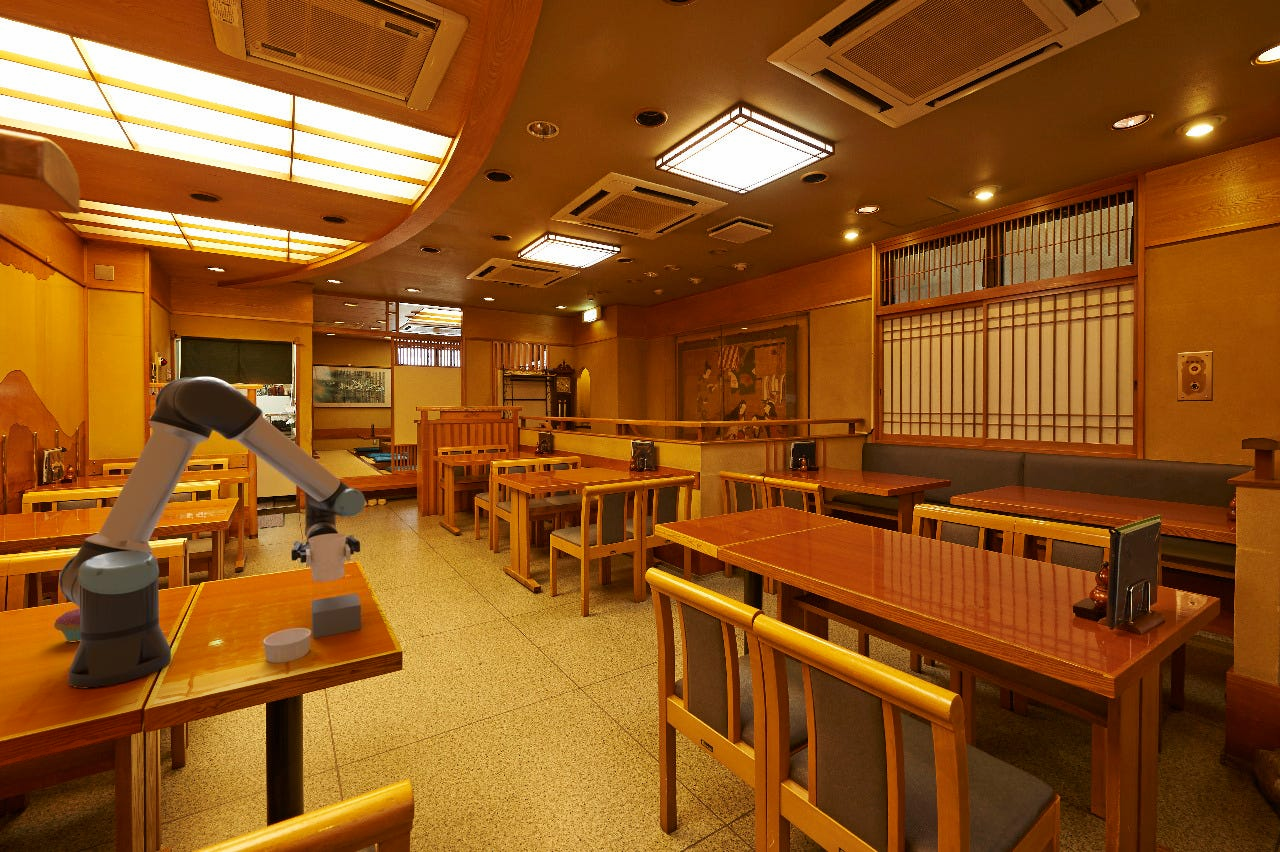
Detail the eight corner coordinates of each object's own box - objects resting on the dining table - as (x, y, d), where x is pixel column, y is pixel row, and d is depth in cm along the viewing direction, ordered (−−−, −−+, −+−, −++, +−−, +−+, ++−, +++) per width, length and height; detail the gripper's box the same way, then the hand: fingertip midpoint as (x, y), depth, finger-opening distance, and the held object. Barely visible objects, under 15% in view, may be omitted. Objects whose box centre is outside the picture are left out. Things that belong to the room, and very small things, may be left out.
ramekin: (311, 659, 117) (310, 639, 116) (261, 668, 112) (260, 648, 112) (312, 643, 124) (312, 624, 124) (265, 652, 120) (265, 632, 120)
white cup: (353, 573, 136) (352, 533, 136) (333, 583, 128) (332, 541, 128) (323, 572, 137) (322, 533, 137) (301, 582, 129) (300, 540, 129)
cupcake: (109, 628, 132) (107, 579, 132) (105, 639, 126) (103, 588, 125) (58, 637, 127) (56, 587, 126) (51, 650, 120) (49, 596, 120)
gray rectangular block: (313, 638, 127) (312, 613, 126) (311, 624, 135) (311, 600, 135) (361, 629, 132) (360, 604, 132) (356, 616, 140) (356, 593, 140)
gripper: (365, 546, 153) (376, 566, 134) (278, 558, 142) (277, 581, 123) (364, 520, 153) (376, 536, 134) (277, 529, 142) (277, 548, 123)
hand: (329, 557), depth 128 cm, fingers closed on white cup, 7 cm apart
